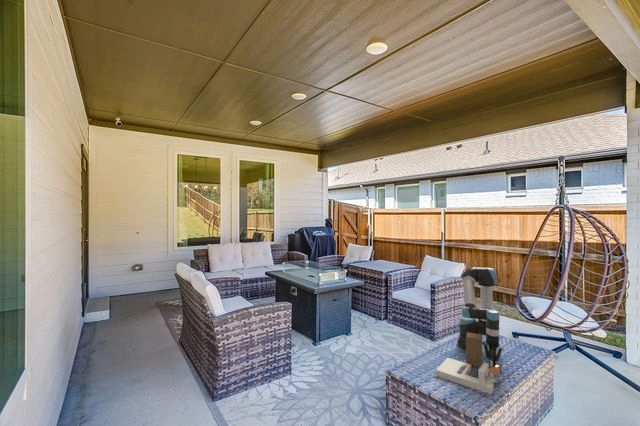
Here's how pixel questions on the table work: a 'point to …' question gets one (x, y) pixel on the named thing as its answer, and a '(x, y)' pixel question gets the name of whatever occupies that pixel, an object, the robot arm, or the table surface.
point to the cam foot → (492, 373)
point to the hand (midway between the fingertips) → (492, 369)
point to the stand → (465, 375)
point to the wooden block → (474, 349)
